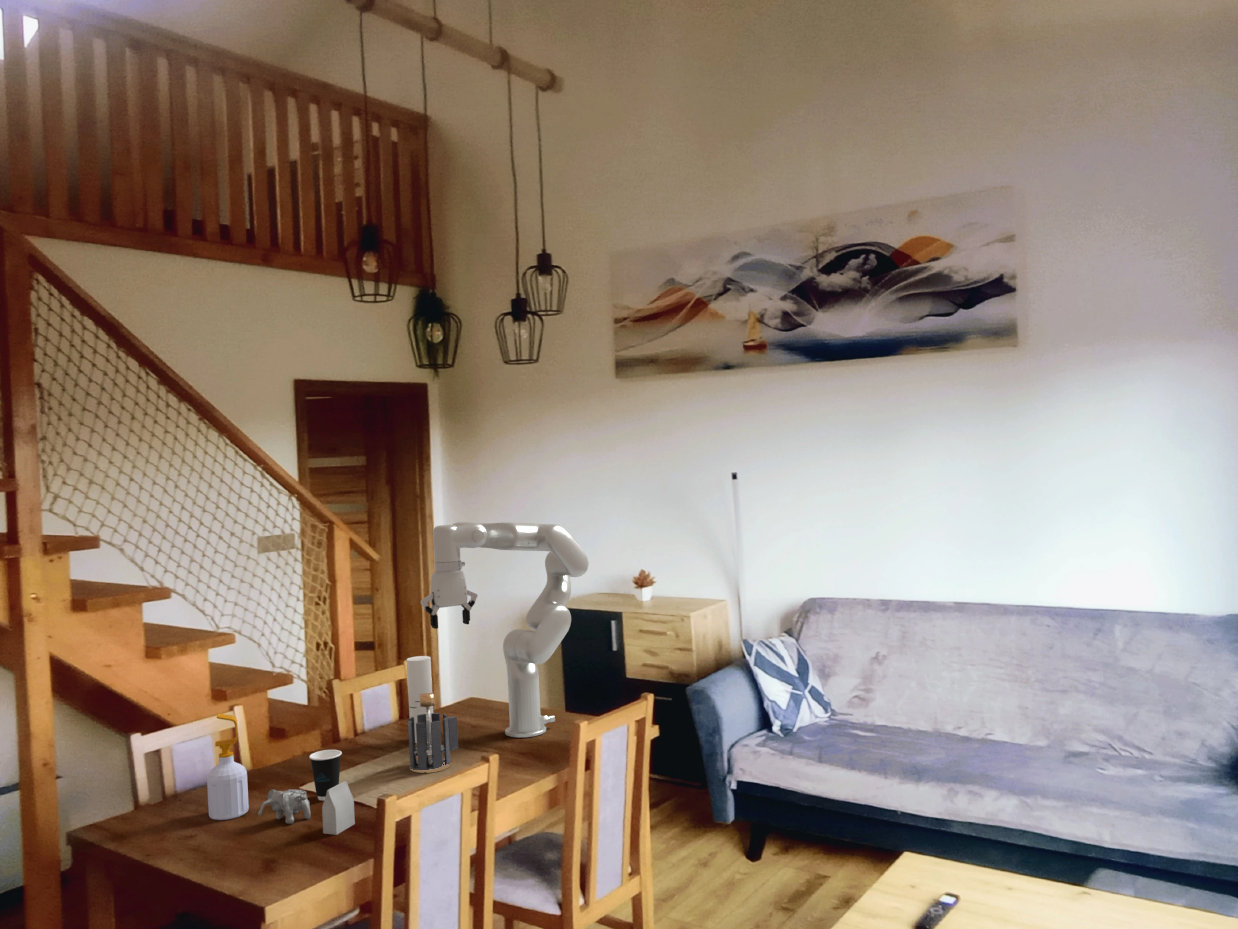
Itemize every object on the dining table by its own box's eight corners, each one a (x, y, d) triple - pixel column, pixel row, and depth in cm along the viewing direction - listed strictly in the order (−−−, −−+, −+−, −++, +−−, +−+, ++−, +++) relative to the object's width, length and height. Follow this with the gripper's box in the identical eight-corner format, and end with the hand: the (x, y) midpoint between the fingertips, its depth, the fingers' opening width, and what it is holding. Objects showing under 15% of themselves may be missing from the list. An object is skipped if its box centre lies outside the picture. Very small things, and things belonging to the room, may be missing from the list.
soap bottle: (209, 811, 240) (204, 712, 240) (248, 805, 244) (244, 707, 244) (208, 823, 232) (202, 721, 232) (248, 816, 235) (243, 715, 235)
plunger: (438, 745, 274) (435, 689, 274) (449, 752, 267) (447, 694, 267) (409, 751, 269) (407, 694, 269) (420, 758, 262) (417, 699, 262)
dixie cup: (339, 789, 252) (337, 747, 252) (347, 798, 245) (345, 754, 245) (308, 796, 248) (306, 753, 248) (315, 805, 241) (312, 760, 241)
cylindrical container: (431, 743, 291) (427, 660, 291) (408, 744, 292) (404, 661, 292) (436, 736, 298) (432, 655, 298) (413, 737, 299) (409, 656, 299)
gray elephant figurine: (318, 817, 234) (317, 784, 234) (282, 832, 223) (281, 798, 223) (288, 813, 238) (288, 781, 238) (251, 828, 227) (251, 795, 227)
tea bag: (354, 824, 227) (352, 781, 227) (336, 834, 221) (334, 791, 221) (341, 822, 228) (339, 780, 228) (323, 833, 222) (321, 789, 222)
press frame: (450, 756, 277) (447, 709, 277) (465, 765, 268) (463, 716, 268) (404, 766, 270) (401, 717, 270) (418, 776, 260) (416, 726, 260)
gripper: (470, 563, 291) (472, 620, 291) (414, 569, 281) (417, 628, 281) (480, 565, 284) (483, 623, 284) (424, 571, 275) (427, 631, 275)
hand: (450, 626), depth 283 cm, fingers open, 9 cm apart
